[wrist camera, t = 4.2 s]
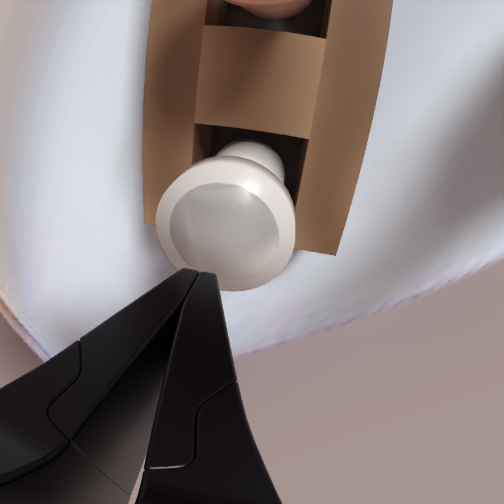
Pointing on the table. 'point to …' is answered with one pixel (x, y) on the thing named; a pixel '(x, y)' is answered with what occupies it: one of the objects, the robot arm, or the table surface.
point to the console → (265, 100)
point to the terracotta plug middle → (272, 7)
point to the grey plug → (230, 216)
